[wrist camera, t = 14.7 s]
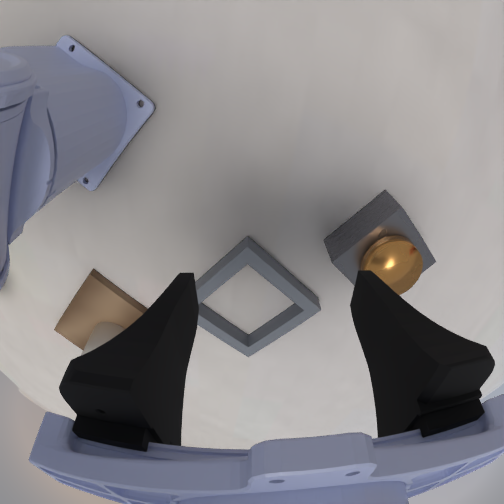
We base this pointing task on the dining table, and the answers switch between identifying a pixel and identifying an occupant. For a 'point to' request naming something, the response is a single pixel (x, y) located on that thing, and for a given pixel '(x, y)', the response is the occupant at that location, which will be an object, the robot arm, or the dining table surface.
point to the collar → (270, 271)
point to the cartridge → (102, 335)
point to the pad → (97, 309)
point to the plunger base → (372, 234)
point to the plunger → (394, 262)
